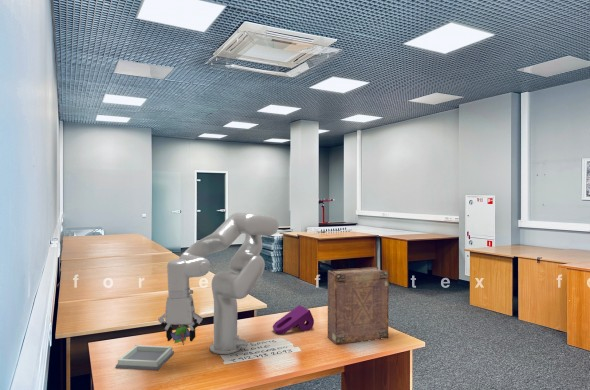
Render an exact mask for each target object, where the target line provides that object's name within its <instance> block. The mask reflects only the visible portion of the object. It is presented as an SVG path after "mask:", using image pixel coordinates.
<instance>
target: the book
mask: <svg viewBox="0 0 590 390" xmlns="http://www.w3.org/2000/svg"><path fill="white" fill-rule="evenodd" d="M389 273H390V272H389V271H388V270H381V269H379V266H373V267H372V266H371V267H360V268H359V267H357V268H345V269H344V268H343V269H342V268H341V269H329V270H327V338H328V339H329V340H330V341H332V342H333V343H334V344H335V345H336V344H338V345H345V344H352V343H360V342H361V341H363V342H369V341H368V340H371V341H376V340H375V339H379V340H382V339H381V338H387V339H389V297H390V296H389V293H390V291H389V287H390V286H389V281H390V279H389Z"/></svg>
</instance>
